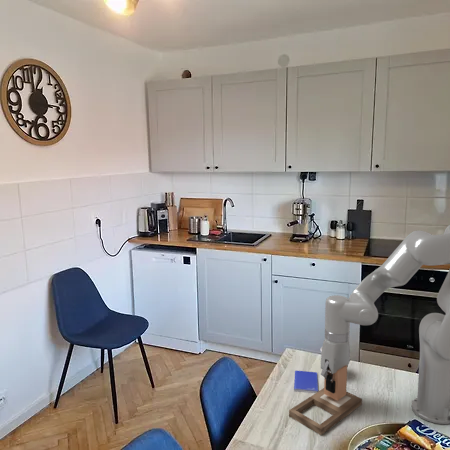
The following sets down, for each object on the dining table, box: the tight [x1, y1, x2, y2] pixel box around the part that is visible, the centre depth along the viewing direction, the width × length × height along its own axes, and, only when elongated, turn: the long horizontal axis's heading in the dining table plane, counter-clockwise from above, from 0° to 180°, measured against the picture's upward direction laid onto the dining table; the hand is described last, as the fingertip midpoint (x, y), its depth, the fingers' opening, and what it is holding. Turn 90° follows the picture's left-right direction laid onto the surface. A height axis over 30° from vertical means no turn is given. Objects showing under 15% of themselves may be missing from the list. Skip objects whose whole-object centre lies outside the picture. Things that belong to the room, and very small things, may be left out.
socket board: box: [288, 387, 363, 436], centre depth 126 cm, size 12×22×2 cm, turn 131°
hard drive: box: [293, 370, 319, 394], centre depth 142 cm, size 2×8×12 cm
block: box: [323, 366, 348, 401], centre depth 128 cm, size 5×5×10 cm
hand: (335, 387), depth 128 cm, fingers closed on block, 5 cm apart
